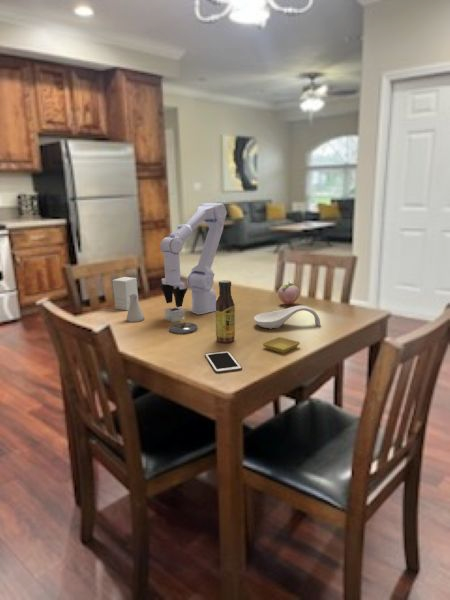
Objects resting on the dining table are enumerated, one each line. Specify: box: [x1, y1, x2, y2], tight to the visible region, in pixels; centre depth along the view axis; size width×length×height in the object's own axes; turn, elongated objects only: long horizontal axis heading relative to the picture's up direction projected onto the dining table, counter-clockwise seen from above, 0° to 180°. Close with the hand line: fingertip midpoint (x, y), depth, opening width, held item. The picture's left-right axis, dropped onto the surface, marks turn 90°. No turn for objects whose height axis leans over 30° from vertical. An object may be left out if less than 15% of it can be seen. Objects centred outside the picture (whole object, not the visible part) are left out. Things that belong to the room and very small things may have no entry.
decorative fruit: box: [277, 282, 300, 306], centre depth 190 cm, size 9×8×10 cm
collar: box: [164, 306, 186, 323], centre depth 175 cm, size 6×6×4 cm
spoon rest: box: [253, 305, 321, 330], centre depth 164 cm, size 24×12×7 cm, turn 93°
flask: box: [125, 293, 145, 323], centre depth 175 cm, size 7×7×10 cm
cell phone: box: [204, 350, 243, 374], centre depth 132 cm, size 8×15×1 cm, turn 15°
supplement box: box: [112, 276, 140, 311], centre depth 193 cm, size 7×7×13 cm
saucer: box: [261, 336, 301, 354], centre depth 142 cm, size 9×9×2 cm
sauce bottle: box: [215, 279, 236, 344], centre depth 148 cm, size 6×6×20 cm
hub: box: [168, 316, 198, 335], centre depth 162 cm, size 10×10×4 cm
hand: (174, 304), depth 174 cm, fingers open, 7 cm apart
